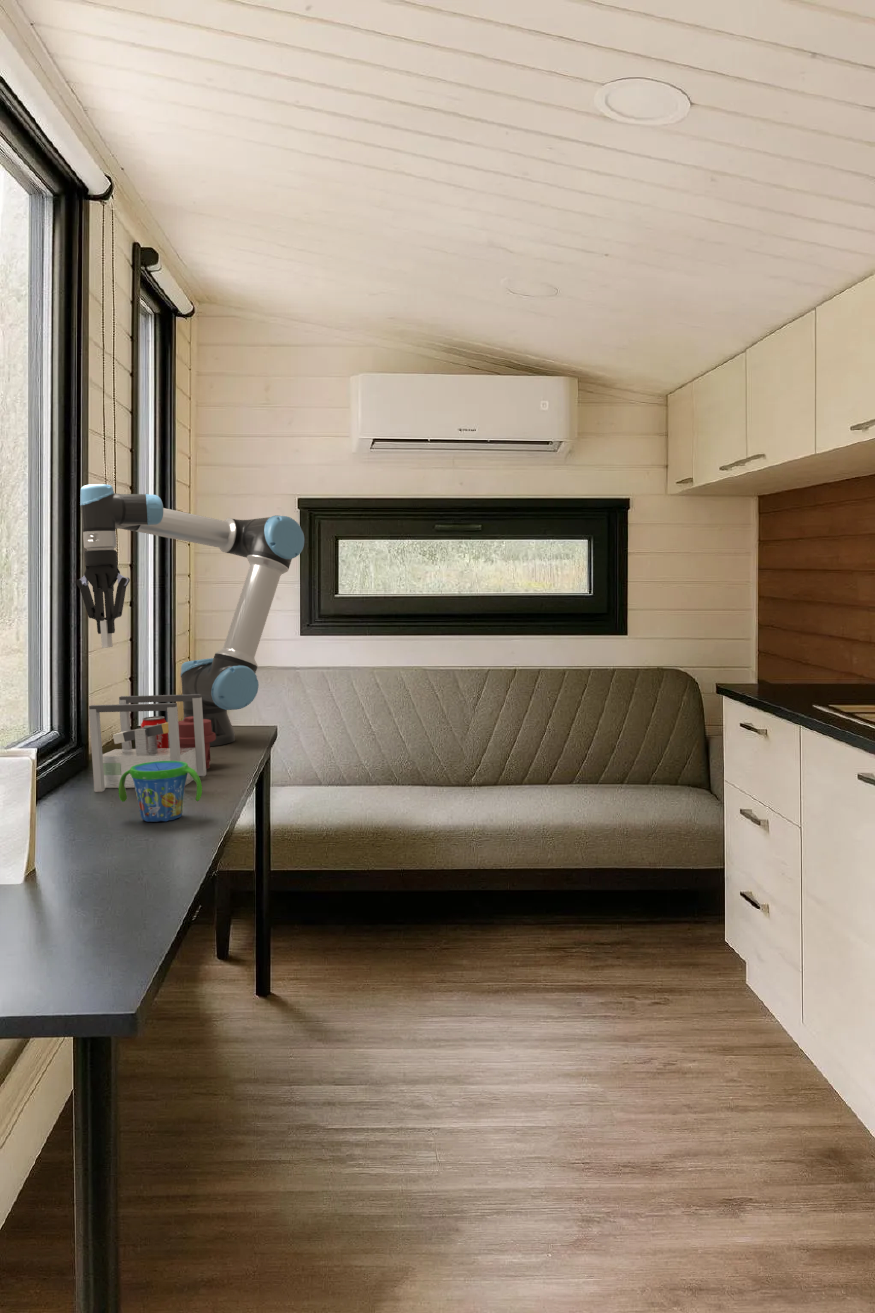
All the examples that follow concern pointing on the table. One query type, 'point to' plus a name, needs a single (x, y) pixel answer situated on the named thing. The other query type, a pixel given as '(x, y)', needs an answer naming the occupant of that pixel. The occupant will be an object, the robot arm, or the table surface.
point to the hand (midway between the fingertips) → (107, 647)
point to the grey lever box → (140, 759)
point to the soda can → (161, 738)
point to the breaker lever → (151, 730)
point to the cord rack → (125, 726)
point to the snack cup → (160, 788)
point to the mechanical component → (189, 736)
